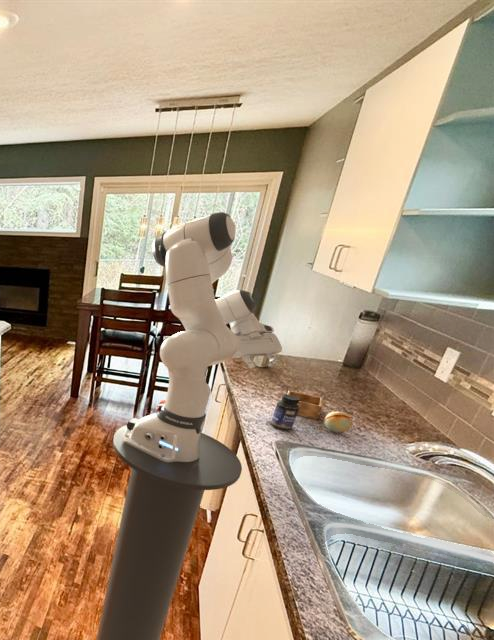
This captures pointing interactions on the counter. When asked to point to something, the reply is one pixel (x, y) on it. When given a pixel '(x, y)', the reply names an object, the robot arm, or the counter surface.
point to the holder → (308, 404)
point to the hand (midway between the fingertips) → (263, 366)
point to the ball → (338, 422)
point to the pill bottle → (285, 412)
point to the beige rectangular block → (261, 361)
